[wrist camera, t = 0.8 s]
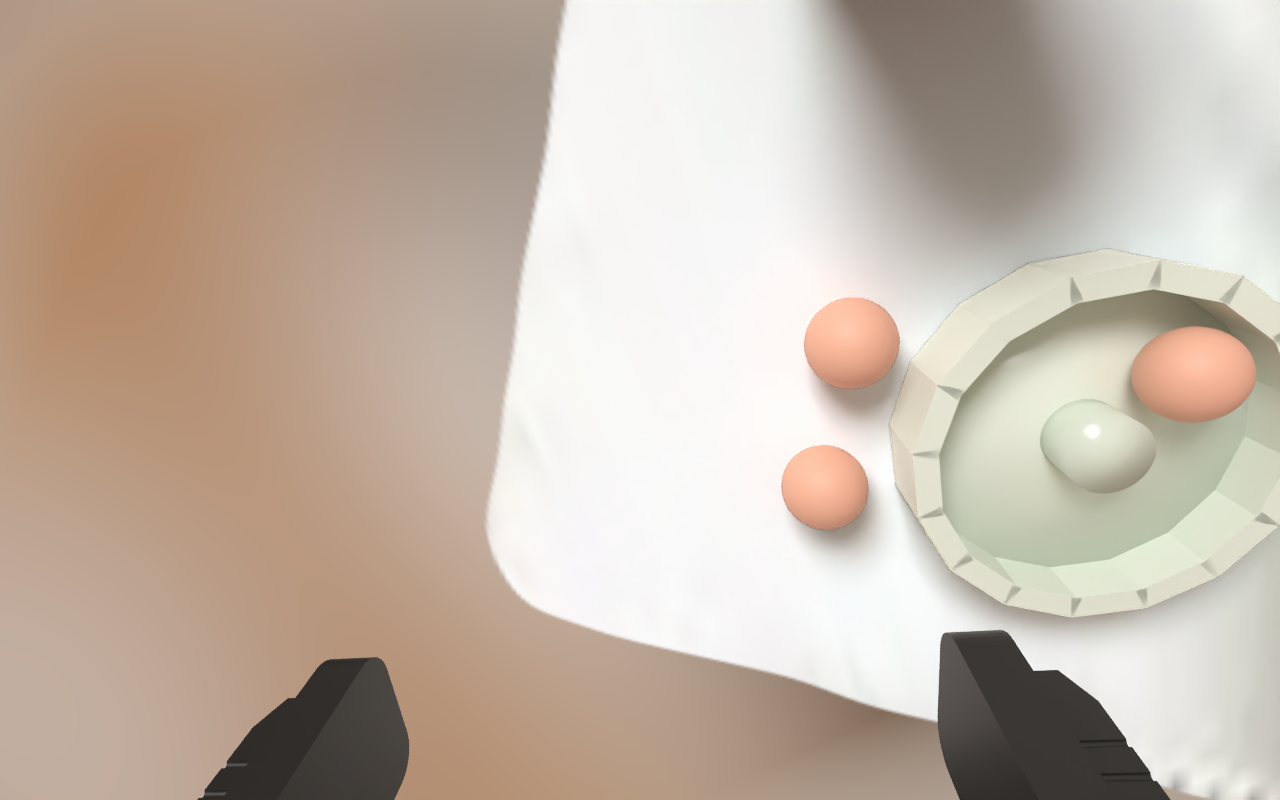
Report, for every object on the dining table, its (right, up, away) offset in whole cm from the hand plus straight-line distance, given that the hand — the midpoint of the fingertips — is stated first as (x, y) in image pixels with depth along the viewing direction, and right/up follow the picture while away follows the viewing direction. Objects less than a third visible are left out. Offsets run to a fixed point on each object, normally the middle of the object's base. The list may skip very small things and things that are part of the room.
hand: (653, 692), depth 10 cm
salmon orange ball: (+21, +6, +17) cm, 27 cm away
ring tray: (+18, +3, +19) cm, 27 cm away
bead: (+8, +7, +18) cm, 21 cm away
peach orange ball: (+8, +1, +21) cm, 22 cm away
